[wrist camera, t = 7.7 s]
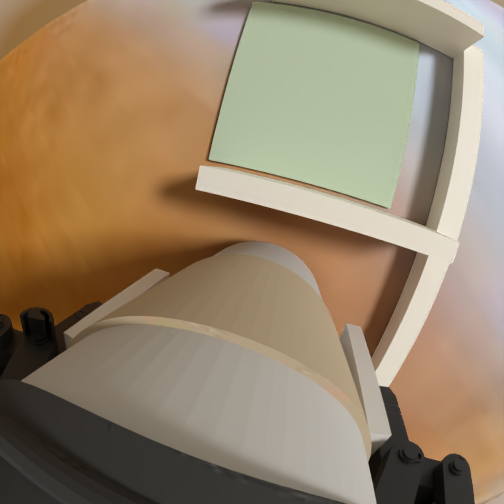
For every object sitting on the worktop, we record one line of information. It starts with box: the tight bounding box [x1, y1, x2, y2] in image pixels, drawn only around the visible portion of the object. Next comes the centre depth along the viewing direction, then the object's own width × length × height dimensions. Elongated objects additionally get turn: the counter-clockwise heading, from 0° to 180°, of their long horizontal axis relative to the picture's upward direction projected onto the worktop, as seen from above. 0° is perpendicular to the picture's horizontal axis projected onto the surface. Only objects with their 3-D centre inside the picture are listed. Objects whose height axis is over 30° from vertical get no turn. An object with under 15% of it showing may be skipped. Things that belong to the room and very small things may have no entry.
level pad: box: [209, 1, 419, 208], centre depth 13 cm, size 10×10×1 cm
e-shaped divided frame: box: [195, 0, 484, 387], centre depth 12 cm, size 13×25×4 cm, turn 167°
